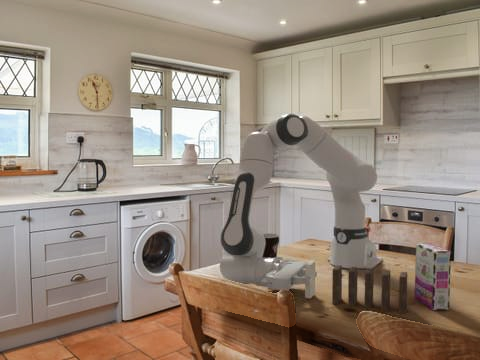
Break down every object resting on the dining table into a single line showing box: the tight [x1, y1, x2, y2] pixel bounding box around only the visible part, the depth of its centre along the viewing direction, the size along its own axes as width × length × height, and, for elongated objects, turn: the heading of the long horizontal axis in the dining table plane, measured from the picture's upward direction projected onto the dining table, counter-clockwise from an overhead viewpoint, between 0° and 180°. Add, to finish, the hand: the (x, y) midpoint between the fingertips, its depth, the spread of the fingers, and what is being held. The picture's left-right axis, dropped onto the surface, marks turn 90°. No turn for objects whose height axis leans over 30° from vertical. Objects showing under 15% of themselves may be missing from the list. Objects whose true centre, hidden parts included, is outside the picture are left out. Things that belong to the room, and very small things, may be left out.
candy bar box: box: [414, 242, 452, 312], centre depth 128 cm, size 11×5×16 cm, turn 5°
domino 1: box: [331, 265, 343, 305], centre depth 131 cm, size 2×5×10 cm, turn 155°
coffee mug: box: [263, 232, 280, 258], centre depth 178 cm, size 12×9×10 cm
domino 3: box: [364, 268, 375, 310], centre depth 127 cm, size 2×5×10 cm, turn 155°
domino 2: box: [347, 267, 359, 308], centre depth 129 cm, size 2×5×10 cm, turn 155°
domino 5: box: [398, 271, 408, 315], centre depth 123 cm, size 2×5×10 cm, turn 155°
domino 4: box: [380, 269, 391, 312], centre depth 125 cm, size 2×5×10 cm, turn 155°
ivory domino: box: [304, 259, 316, 299], centre depth 134 cm, size 2×5×10 cm, turn 155°
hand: (313, 277), depth 134 cm, fingers closed on ivory domino, 5 cm apart
